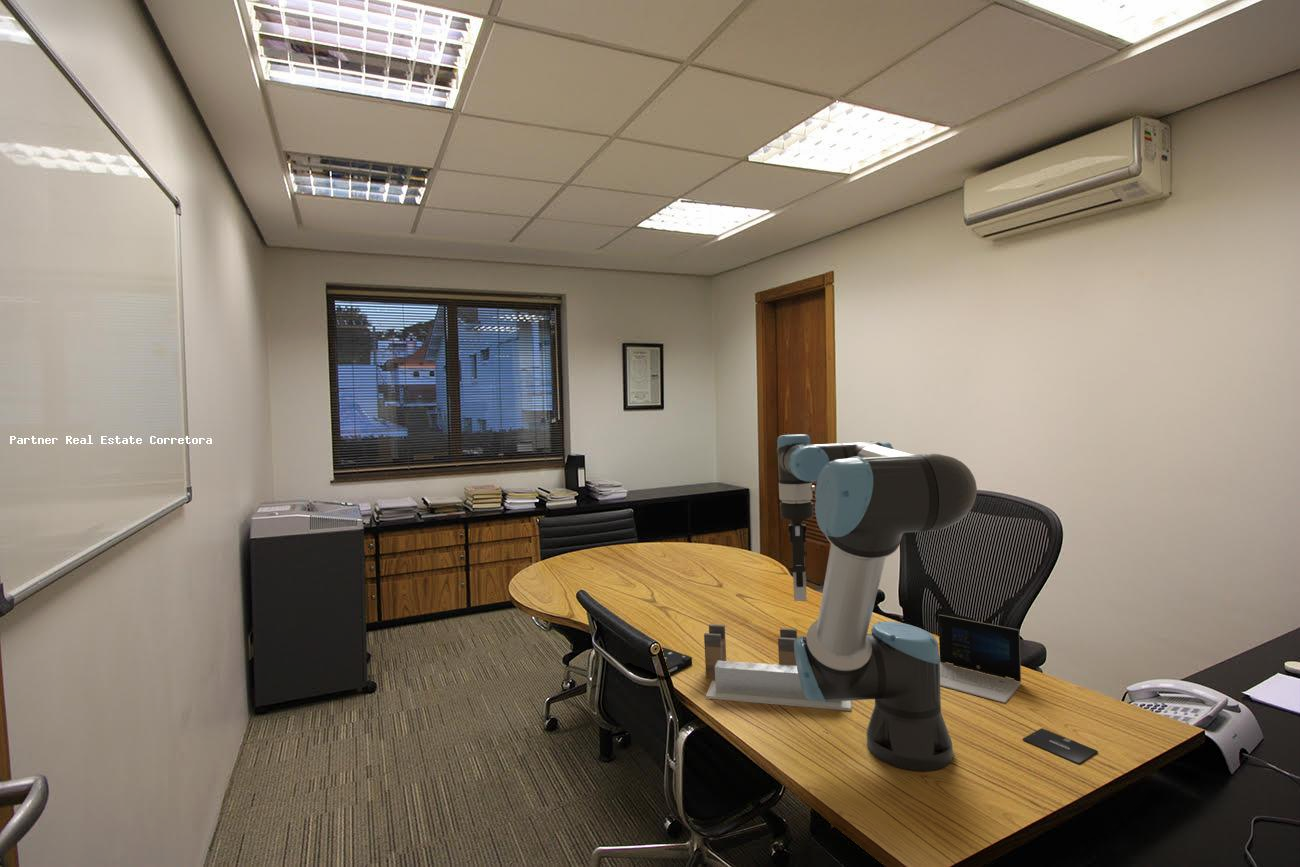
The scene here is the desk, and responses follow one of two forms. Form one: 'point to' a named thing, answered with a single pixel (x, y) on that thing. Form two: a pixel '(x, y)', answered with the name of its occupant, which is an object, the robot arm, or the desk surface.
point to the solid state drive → (1060, 746)
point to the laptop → (979, 658)
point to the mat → (776, 700)
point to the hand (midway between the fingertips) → (800, 591)
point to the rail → (759, 680)
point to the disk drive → (676, 661)
